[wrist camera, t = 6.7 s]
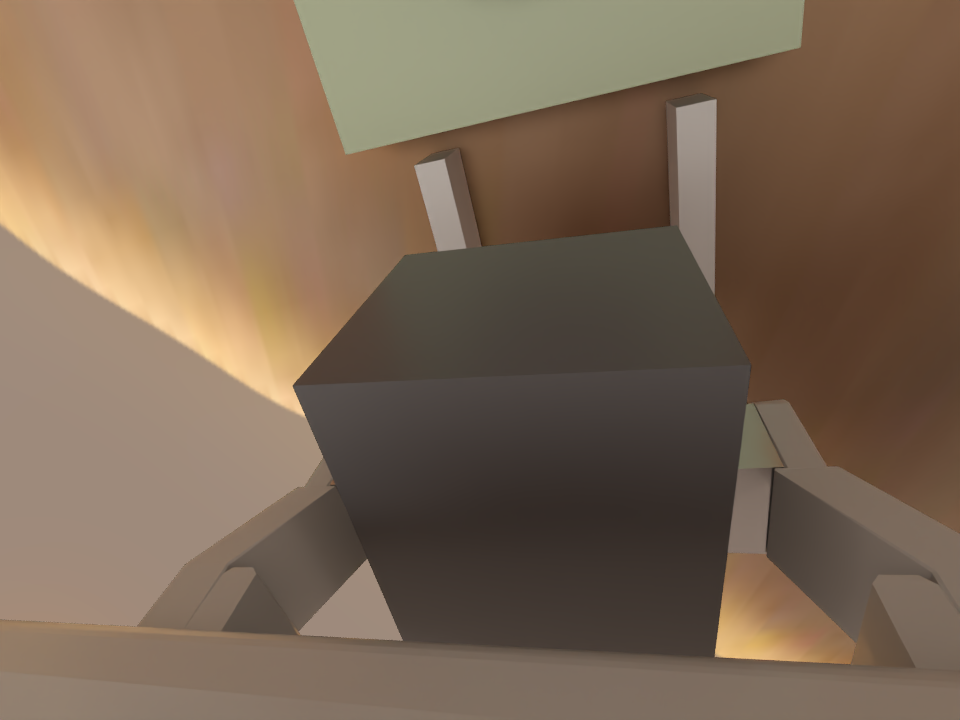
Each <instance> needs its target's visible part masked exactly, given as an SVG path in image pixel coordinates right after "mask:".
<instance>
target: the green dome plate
mask: <svg viewBox="0 0 960 720" xmlns="http://www.w3.org/2000/svg"><path fill="white" fill-rule="evenodd" d="M294 3H295V5H296V8H297V11H298V14H299V17H300V20H301V23H302V26H303V29H304V32H305V35H306V38H307V41H308V44H309V47H310V50H311V53H312V56H313V59H314V62H315V65H316V68H317V71H318V74H319V77H320V80H321V83H322V86H323V88H324V91H325V94H326V97H327V100H328V103H329V106H330V109H331V112H332V115H333V118H334V121H335V124H336V127H337V130H338V133H339V136H340V139H341V142H342V145H343V148H344V151H345V154H346V155H347V154H351V153H356V152H360V151H364V150H368V149H373V148H377V147H381V146H385V145H390V144H394V143H398V142H402V141H407V140H411V139H415V138H419V137H423V136H428V135H432V134H436V133H440V132H445V131H449V130H453V129H457V128H462V127H466V126H470V125H474V124H479V123H483V122H487V121H491V120H496V119H500V118H504V117H508V116H513V115H517V114H521V113H525V112H529V111H534V110H538V109H542V108H546V107H551V106H555V105H559V104H563V103H568V102H572V101H576V100H580V99H585V98H589V97H593V96H597V95H602V94H606V93H610V92H614V91H619V90H623V89H627V88H631V87H635V86H640V85H644V84H648V83H652V82H657V81H661V80H665V79H669V78H674V77H678V76H682V75H686V74H691V73H695V72H699V71H703V70H708V69H712V68H716V67H720V66H724V65H729V64H733V63H737V62H741V61H746V60H750V59H754V58H758V57H763V56H767V55H771V54H775V53H780V52H784V51H788V50H792V49H797V48H801V38H802V25H803V13H804V0H294ZM716 103H717V99H715V98H713V97H710V96H707V95H705V94H702V93H700V94H695V95H691V96H686V97H682V98H678V99H673V100H669V101H666V117H667V145H668V173H669V201H670V226H675V225H677V226H678V228H679V230H680V231H681V233H682V235H683V237H684V239H685V241H686V243H687V245H688V247H689V248H690V250H691V252H692V254H693V256H694V258H695V260H696V262H697V263H698V265H699V267H700V269H701V271H702V273H703V275H704V277H705V279H706V280H707V282H708V284H709V286H710V288H711V290H712V292H713V294H714V295H715V211H716ZM414 167H415V170H416V174H417V177H418V181H419V185H420V188H421V192H422V195H423V199H424V203H425V206H426V210H427V214H428V217H429V221H430V224H431V228H432V232H433V235H434V239H435V243H436V246H437V250H438V251H447V250H456V249H465V248H474V247H482V246H481V241H480V237H479V233H478V228H477V224H476V219H475V215H474V211H473V206H472V202H471V198H470V193H469V189H468V185H467V180H466V176H465V172H464V167H463V163H462V159H461V154H460V150H459V148H455V149H451V150H446V151H442V152H437V153H433V154H431V155H429V156H428V157H426V158H425V159H423V160H422V161H420V162H419V163H417V164H416V165H414Z"/></svg>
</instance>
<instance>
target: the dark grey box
mask: <svg viewBox="0 0 960 720" xmlns="http://www.w3.org/2000/svg"><path fill="white" fill-rule="evenodd" d="M750 372H751V363H750V361H749V359H748V358H747V356H746V354H745V352H744V350H743V348H742V346H741V344H740V342H739V341H738V339H737V337H736V335H735V333H734V331H733V329H732V327H731V326H730V324H729V322H728V320H727V318H726V316H725V314H724V312H723V311H722V309H721V307H720V305H719V303H718V301H717V299H716V297H715V295H714V294H713V292H712V290H711V288H710V286H709V284H708V282H707V280H706V279H705V277H704V275H703V273H702V271H701V269H700V267H699V265H698V263H697V262H696V260H695V258H694V256H693V254H692V252H691V250H690V248H689V247H688V245H687V243H686V241H685V239H684V237H683V235H682V233H681V231H680V230H679V228H678V226H677V225H675V226H666V227H656V228H647V229H638V230H629V231H620V232H611V233H602V234H593V235H584V236H574V237H565V238H556V239H547V240H538V241H529V242H520V243H511V244H502V245H492V246H483V247H474V248H465V249H456V250H447V251H438V252H429V253H419V254H410V255H405V256H404V257H403V258H402V259H401V261H400V262H399V263H398V264H397V265H396V266H395V267H394V269H393V270H392V271H391V272H390V273H389V274H388V276H387V277H386V278H385V279H384V280H383V281H382V283H381V284H380V285H379V286H378V287H377V288H376V290H375V291H374V292H373V293H372V294H371V295H370V296H369V298H368V299H367V300H366V301H365V302H364V303H363V305H362V306H361V307H360V308H359V309H358V310H357V312H356V313H355V314H354V315H353V316H352V317H351V319H350V320H349V321H348V322H347V323H346V324H345V325H344V327H343V328H342V329H341V330H340V331H339V332H338V334H337V335H336V336H335V337H334V338H333V339H332V341H331V342H330V343H329V344H328V345H327V346H326V348H325V349H324V350H323V351H322V352H321V353H320V354H319V356H318V357H317V358H316V359H315V360H314V361H313V363H312V364H311V365H310V366H309V367H308V368H307V370H306V371H305V372H304V373H303V374H302V375H301V377H300V378H299V379H298V380H297V381H296V382H295V383H294V385H293V388H294V390H295V393H296V395H297V397H298V400H299V402H300V404H301V406H302V409H303V411H304V413H305V416H306V418H307V420H308V422H309V425H310V427H311V430H312V432H313V434H314V436H315V439H316V441H317V443H318V446H319V448H320V450H321V452H322V455H323V457H324V459H325V462H326V464H327V466H328V469H329V471H330V473H331V476H332V478H333V480H334V483H335V485H336V487H337V489H338V492H339V494H340V496H341V499H342V501H343V503H344V506H345V508H346V510H347V512H348V515H349V517H350V519H351V522H352V524H353V526H354V529H355V531H356V533H357V536H358V538H359V540H360V542H361V545H362V547H363V549H364V552H365V554H366V556H367V559H368V561H369V563H370V566H371V568H372V570H373V572H374V575H375V577H376V579H377V582H378V584H379V586H380V588H381V591H382V593H383V595H384V598H385V600H386V602H387V605H388V607H389V609H390V611H391V614H392V616H393V618H394V621H395V623H396V625H397V628H398V630H399V632H400V635H401V637H402V639H403V641H413V642H432V643H451V644H471V645H490V646H509V647H528V648H547V649H567V650H586V651H605V652H624V653H643V654H662V655H681V656H700V657H714V655H715V648H716V640H717V632H718V624H719V616H720V608H721V600H722V592H723V585H724V577H725V569H726V561H727V553H728V545H729V537H730V529H731V521H732V514H733V506H734V498H735V490H736V482H737V474H738V466H739V458H740V451H741V443H742V435H743V427H744V419H745V411H746V403H747V395H748V388H749V380H750Z"/></svg>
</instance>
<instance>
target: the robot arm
mask: <svg viewBox="0 0 960 720" xmlns="http://www.w3.org/2000/svg"><path fill="white" fill-rule="evenodd" d="M728 553H756V554H767V557H768V558H769V559H770V560H771V561H772V562H773V563H774V564H775V565H776V566H777V567H778V568H779V569H780V570H781V571H782V572H783V573H784V574H785V575H786V576H787V577H788V578H789V579H791V580H792V581H793V582H794V583H795V584H796V585H797V586H798V587H799V588H800V589H801V590H802V591H803V592H804V593H805V594H806V595H807V596H808V597H809V598H810V599H811V600H812V601H813V602H814V603H815V604H816V605H817V606H818V607H819V608H821V609H822V610H823V611H824V612H825V613H826V614H827V615H828V616H829V617H830V618H831V619H832V620H833V621H834V622H835V623H836V624H837V625H838V626H839V627H840V628H841V629H842V630H843V631H844V632H845V633H846V634H847V635H848V636H849V637H851V638H852V639H853V640H854V641H855V642H856V643H857V644H856V647H855V651H854V655H853V659H852V662H851V665H850V664H832V663H813V662H794V661H775V660H756V659H737V658H718V657H700V656H681V655H662V654H643V653H624V652H605V651H586V650H567V649H547V648H528V647H509V646H490V645H471V644H451V643H432V642H413V641H393V640H377V639H359V638H341V637H322V636H302V635H300V633H299V632H298V631H299V630H300V629H301V628H302V627H303V626H304V625H305V624H306V623H307V622H308V621H309V620H310V619H311V618H312V616H313V615H314V614H315V613H316V612H317V611H318V610H319V609H320V608H321V607H322V606H323V605H324V604H325V603H326V602H327V601H328V600H329V598H330V597H331V596H332V595H333V594H334V593H335V592H336V591H337V590H338V589H339V588H340V587H341V586H342V585H343V584H344V583H345V581H346V580H347V579H348V578H349V577H350V576H351V575H352V574H353V573H354V572H355V571H356V570H357V569H358V568H359V567H360V566H361V564H363V562H364V561H365V560H366V559H367V556H366V554H365V552H364V549H363V547H362V545H361V542H360V540H359V538H358V536H357V533H356V531H355V529H354V526H353V524H352V522H351V519H350V517H349V515H348V512H347V510H346V508H345V506H344V503H343V501H342V499H341V496H340V494H339V492H338V489H337V487H336V485H335V483H334V480H333V478H332V476H331V473H330V471H329V469H328V466H327V464H326V462H325V459H324V457H323V459H322V460H321V462H320V463H319V465H318V467H317V468H316V469H315V471H314V473H313V474H312V476H311V477H310V479H309V480H308V482H307V484H306V485H305V487H297V488H296V489H294V490H293V491H291V492H290V493H289V494H287V495H286V496H284V497H283V498H281V499H280V500H278V501H277V502H275V503H274V504H272V505H271V506H269V507H268V508H266V509H265V510H264V511H262V512H261V513H259V514H258V515H256V516H255V517H253V518H252V519H250V520H249V521H248V522H246V523H245V524H243V525H242V526H240V527H239V528H237V529H236V530H235V531H233V532H232V533H230V534H229V535H227V536H226V537H224V538H223V539H221V540H220V541H218V542H217V543H216V544H214V545H213V546H211V547H210V548H208V549H207V550H205V551H204V552H202V553H201V554H199V555H198V556H196V557H195V558H194V559H192V560H191V561H189V562H188V563H186V564H185V565H184V566H183V568H182V569H181V570H180V572H179V573H178V574H177V575H176V577H175V578H174V579H173V581H172V582H171V583H170V585H169V586H168V587H167V588H166V589H165V591H164V592H163V594H162V595H161V596H160V597H159V598H158V600H157V601H156V602H155V604H154V605H153V606H152V607H151V609H150V610H149V611H148V613H147V614H146V615H145V617H144V618H143V619H142V620H141V622H140V623H139V624H138V626H137V627H135V626H134V627H133V626H116V625H96V624H76V623H59V622H40V621H39V622H38V621H21V620H2V619H0V720H960V534H959V533H957V532H956V531H954V530H952V529H950V528H948V527H947V526H945V525H943V524H941V523H940V522H938V521H936V520H934V519H932V518H931V517H929V516H927V515H925V514H923V513H922V512H920V511H918V510H916V509H914V508H913V507H911V506H909V505H907V504H905V503H904V502H902V501H900V500H898V499H896V498H895V497H893V496H891V495H889V494H887V493H886V492H884V491H882V490H880V489H878V488H877V487H875V486H873V485H871V484H869V483H868V482H866V481H864V480H862V479H860V478H859V477H857V476H855V475H853V474H851V473H850V472H848V471H846V470H844V469H842V468H841V467H839V466H832V467H827V465H826V463H825V462H824V460H823V458H822V457H821V455H820V453H819V452H818V450H817V448H816V447H815V445H814V443H813V441H812V440H811V438H810V436H809V435H808V433H807V431H806V430H805V428H804V426H803V425H802V423H801V421H800V420H799V418H798V416H797V415H796V413H795V411H794V410H793V408H792V406H791V404H790V403H789V402H788V401H786V400H785V399H781V400H771V401H760V402H751V403H750V404H746V411H745V419H744V427H743V435H742V443H741V451H740V458H739V466H738V474H737V482H736V490H735V498H734V506H733V514H732V521H731V529H730V537H729V545H728Z"/></svg>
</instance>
